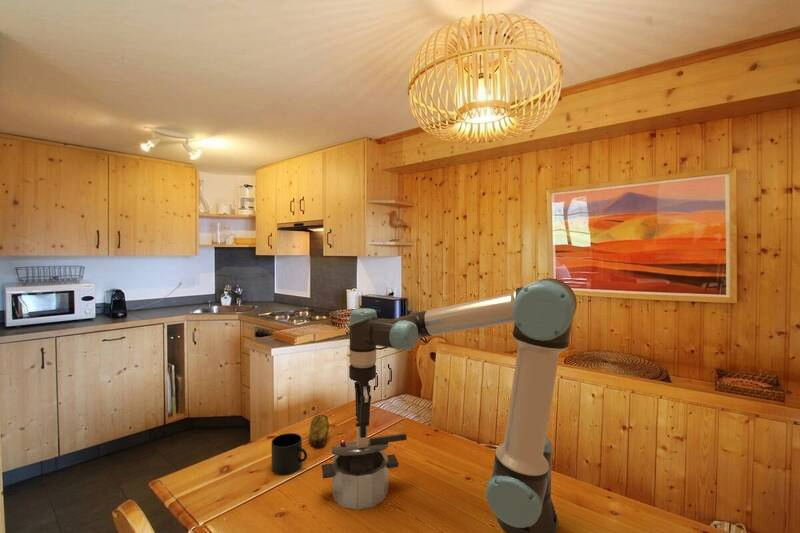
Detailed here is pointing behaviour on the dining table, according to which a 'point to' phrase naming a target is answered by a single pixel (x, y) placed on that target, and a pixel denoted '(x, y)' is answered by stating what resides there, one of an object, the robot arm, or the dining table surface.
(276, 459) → the mug
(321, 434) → the potato
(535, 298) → the robot arm
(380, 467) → the pot
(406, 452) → the dining table surface
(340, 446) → the lid
